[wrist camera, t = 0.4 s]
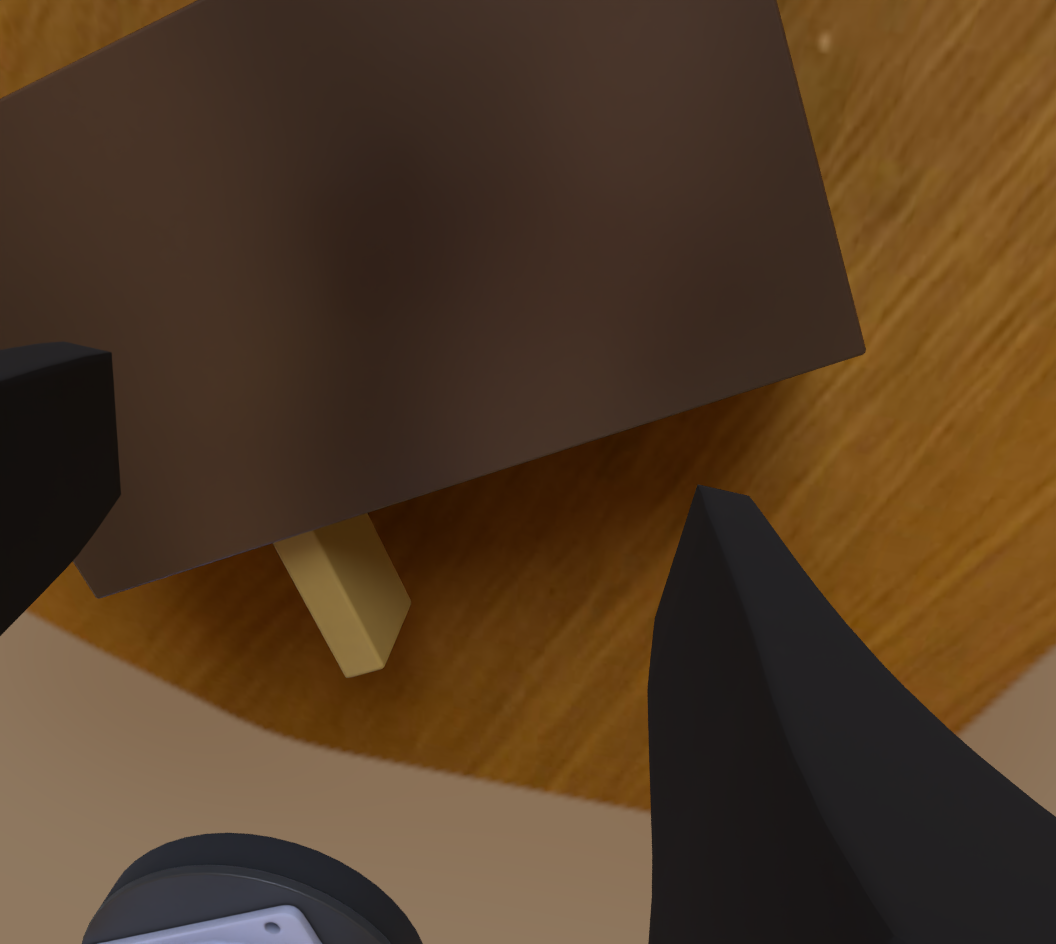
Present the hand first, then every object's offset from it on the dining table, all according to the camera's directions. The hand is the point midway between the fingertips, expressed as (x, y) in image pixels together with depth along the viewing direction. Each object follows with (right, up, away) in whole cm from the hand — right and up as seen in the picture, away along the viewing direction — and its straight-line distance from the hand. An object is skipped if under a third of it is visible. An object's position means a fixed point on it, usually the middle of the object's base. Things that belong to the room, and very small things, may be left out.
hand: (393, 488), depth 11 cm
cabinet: (-1, +6, +9) cm, 11 cm away
